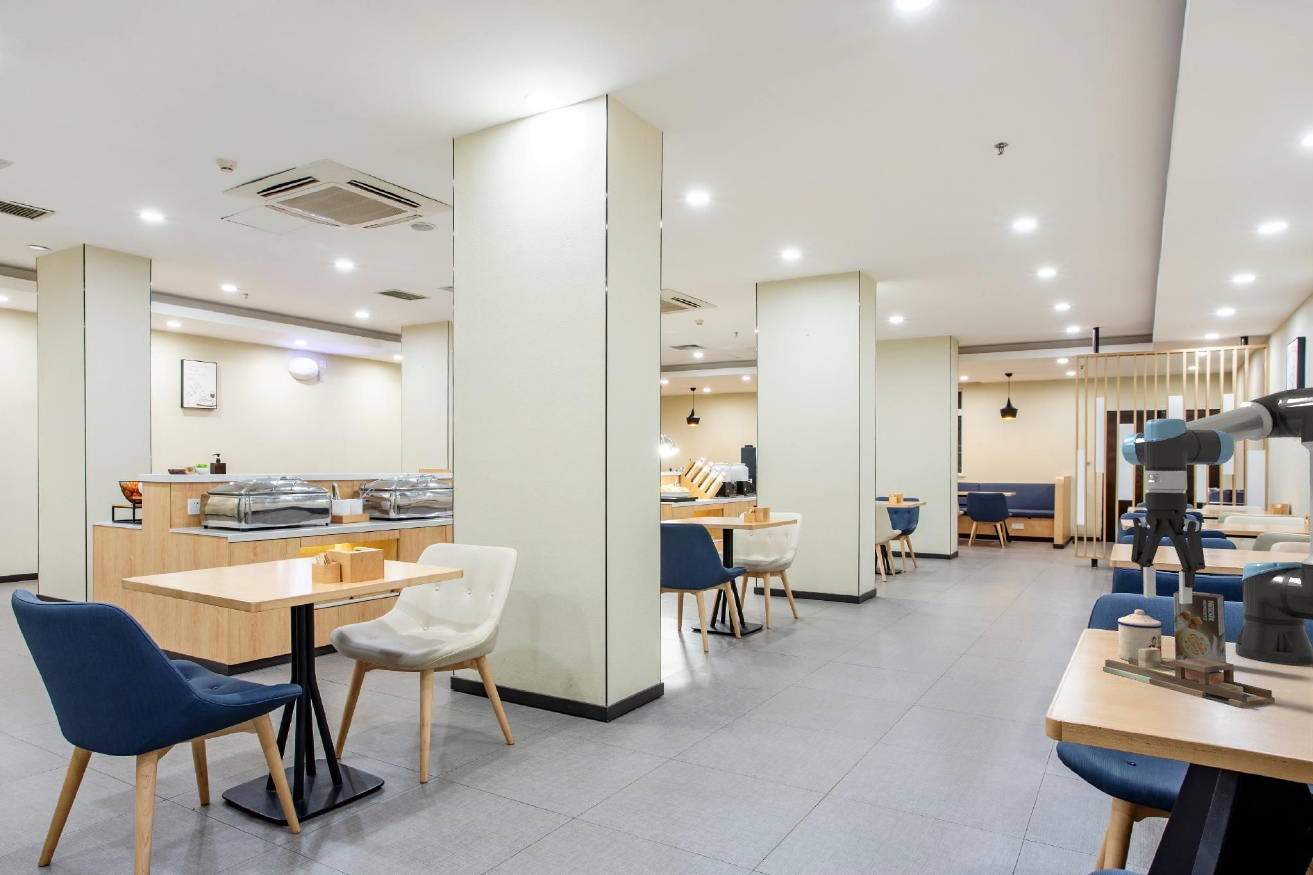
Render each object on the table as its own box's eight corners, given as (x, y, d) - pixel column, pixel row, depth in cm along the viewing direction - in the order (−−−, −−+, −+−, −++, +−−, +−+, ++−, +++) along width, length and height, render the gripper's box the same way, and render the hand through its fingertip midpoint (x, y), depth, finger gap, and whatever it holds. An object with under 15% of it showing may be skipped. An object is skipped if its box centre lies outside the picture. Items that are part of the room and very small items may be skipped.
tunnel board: (1135, 667, 179) (1134, 641, 179) (1274, 702, 152) (1274, 672, 152) (1102, 671, 175) (1102, 644, 175) (1239, 707, 148) (1239, 676, 148)
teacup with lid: (1155, 666, 180) (1155, 614, 181) (1112, 659, 187) (1111, 609, 188) (1171, 658, 188) (1171, 609, 189) (1129, 652, 195) (1128, 604, 196)
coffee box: (1227, 664, 184) (1226, 594, 184) (1220, 668, 179) (1219, 597, 180) (1181, 657, 190) (1180, 589, 191) (1173, 661, 186) (1172, 592, 187)
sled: (1153, 669, 172) (1152, 647, 172) (1243, 692, 154) (1242, 667, 155) (1138, 671, 170) (1138, 648, 170) (1227, 694, 153) (1227, 669, 153)
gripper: (1110, 490, 176) (1111, 594, 175) (1200, 492, 157) (1203, 608, 156) (1134, 490, 179) (1136, 592, 178) (1226, 492, 160) (1228, 607, 159)
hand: (1167, 600), depth 167 cm, fingers open, 7 cm apart
